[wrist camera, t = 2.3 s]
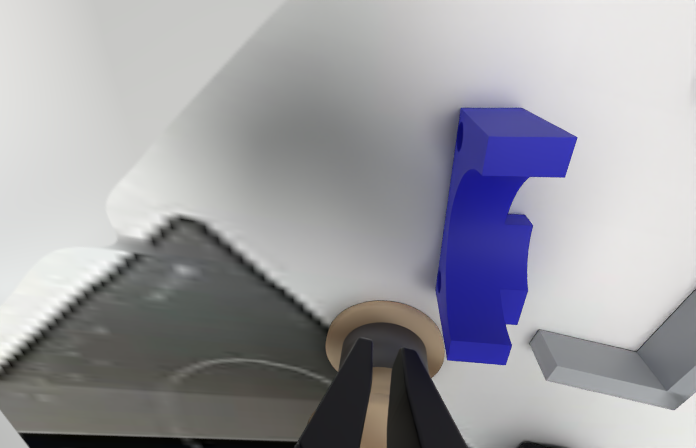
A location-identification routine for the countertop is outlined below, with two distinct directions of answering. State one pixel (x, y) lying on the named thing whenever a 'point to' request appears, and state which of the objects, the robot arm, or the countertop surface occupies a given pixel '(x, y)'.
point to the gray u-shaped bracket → (628, 362)
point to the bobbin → (383, 352)
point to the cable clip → (491, 227)
